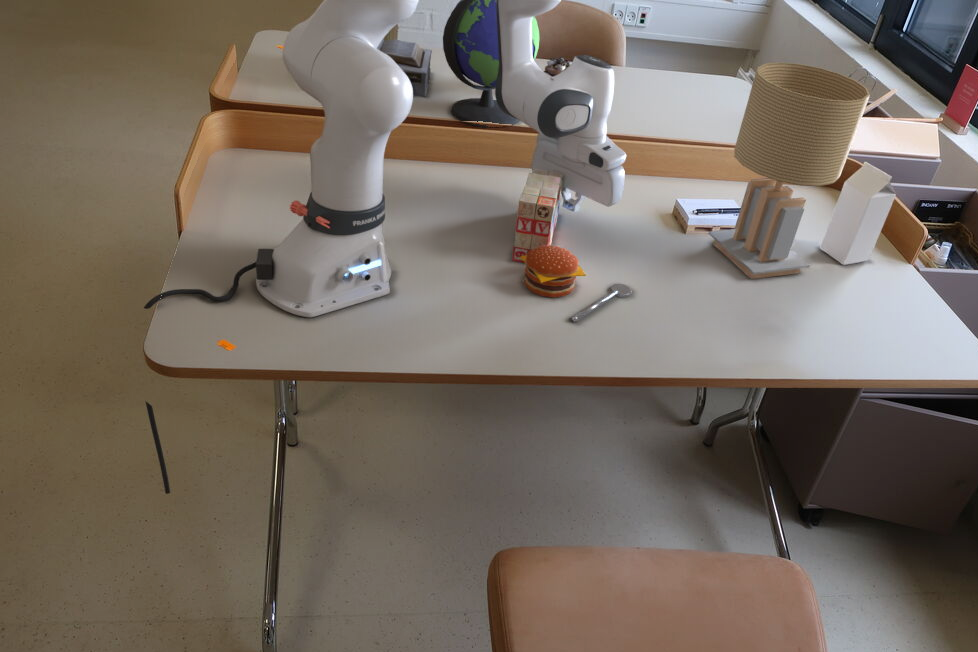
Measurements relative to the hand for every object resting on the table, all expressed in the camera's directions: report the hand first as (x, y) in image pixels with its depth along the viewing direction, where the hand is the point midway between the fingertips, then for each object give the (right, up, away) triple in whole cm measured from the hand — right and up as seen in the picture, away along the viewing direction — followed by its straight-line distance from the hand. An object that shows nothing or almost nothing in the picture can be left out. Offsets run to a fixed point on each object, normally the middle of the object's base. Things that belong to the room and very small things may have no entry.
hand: (570, 209), depth 166 cm
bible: (-48, +44, +52) cm, 83 cm away
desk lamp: (+36, -10, -2) cm, 38 cm away
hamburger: (-5, -17, -20) cm, 27 cm away
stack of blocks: (-7, -7, -7) cm, 12 cm away
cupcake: (-2, +42, +60) cm, 74 cm away
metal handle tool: (+4, -21, -24) cm, 32 cm away
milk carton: (+56, -9, +4) cm, 57 cm away
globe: (-20, +31, +42) cm, 56 cm away
